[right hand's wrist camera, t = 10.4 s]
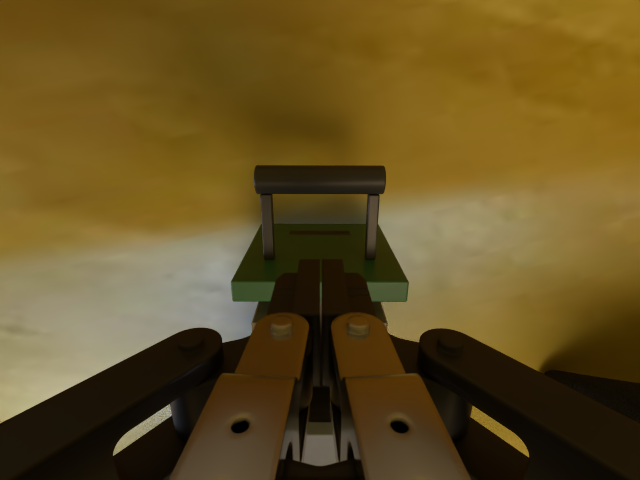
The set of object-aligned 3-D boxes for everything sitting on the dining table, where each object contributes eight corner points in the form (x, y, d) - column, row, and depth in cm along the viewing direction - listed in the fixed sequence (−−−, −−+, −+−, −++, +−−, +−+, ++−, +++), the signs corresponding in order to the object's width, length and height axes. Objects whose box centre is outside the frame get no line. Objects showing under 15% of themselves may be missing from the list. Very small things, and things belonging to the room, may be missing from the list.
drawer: (256, 152, 25) (220, 175, 16) (383, 152, 25) (419, 175, 16) (270, 385, 33) (250, 493, 23) (368, 385, 33) (387, 494, 23)
